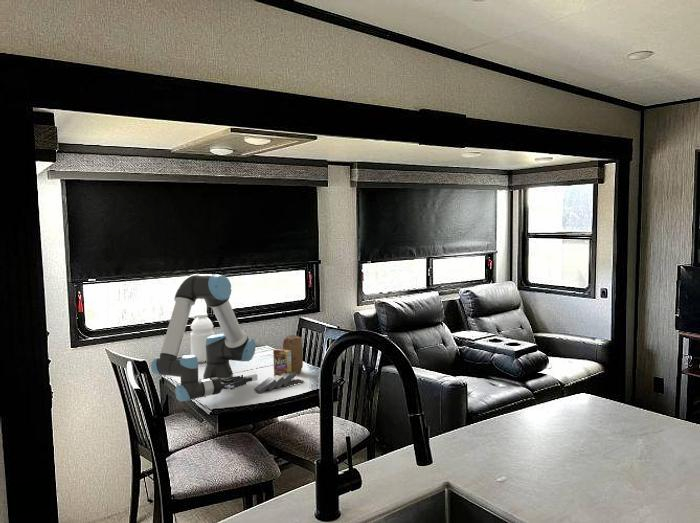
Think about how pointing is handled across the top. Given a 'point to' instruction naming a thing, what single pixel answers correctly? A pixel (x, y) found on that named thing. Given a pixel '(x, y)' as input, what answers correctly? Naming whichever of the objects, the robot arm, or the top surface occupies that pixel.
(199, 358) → the bottle
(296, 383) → the domino
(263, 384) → the domino
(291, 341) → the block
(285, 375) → the domino
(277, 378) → the domino
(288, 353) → the candy box
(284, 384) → the domino
